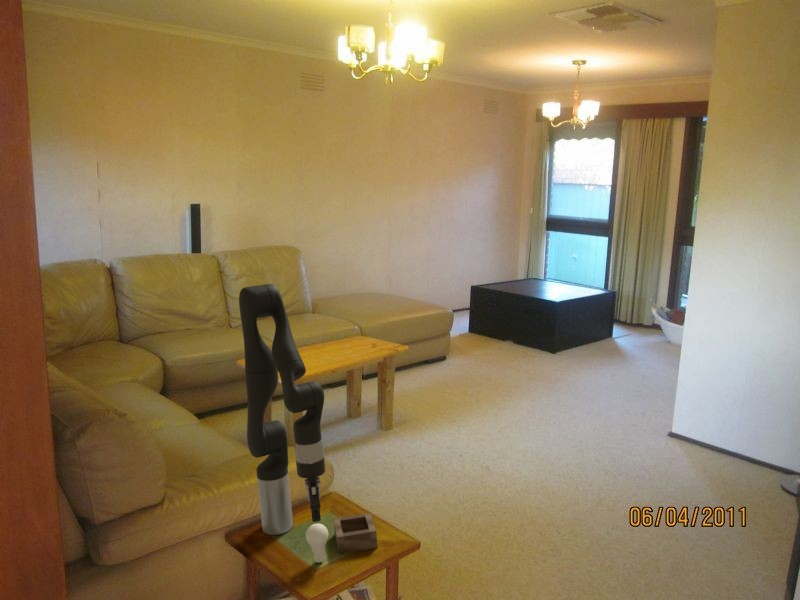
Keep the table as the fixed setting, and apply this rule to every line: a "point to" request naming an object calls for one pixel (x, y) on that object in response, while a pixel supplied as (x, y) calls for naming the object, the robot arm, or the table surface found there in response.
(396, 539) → the table surface
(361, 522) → the socket block
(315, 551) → the lightbulb
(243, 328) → the robot arm
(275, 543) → the table surface
